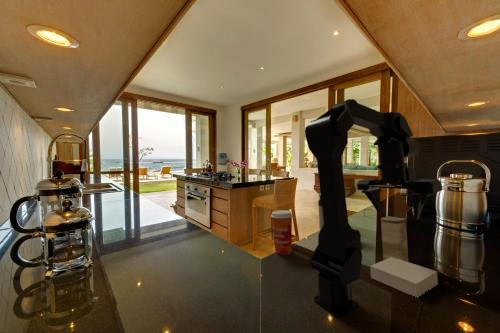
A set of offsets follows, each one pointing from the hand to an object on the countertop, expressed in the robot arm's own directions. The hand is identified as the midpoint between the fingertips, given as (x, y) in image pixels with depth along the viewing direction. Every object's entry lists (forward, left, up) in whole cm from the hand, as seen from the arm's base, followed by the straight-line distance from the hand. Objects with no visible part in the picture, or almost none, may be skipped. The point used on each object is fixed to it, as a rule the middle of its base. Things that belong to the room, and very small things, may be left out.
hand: (397, 215), depth 57 cm
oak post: (+3, +3, -15) cm, 15 cm away
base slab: (-6, -3, -15) cm, 16 cm away
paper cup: (-19, +28, -15) cm, 37 cm away
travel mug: (+7, +30, -15) cm, 34 cm away
